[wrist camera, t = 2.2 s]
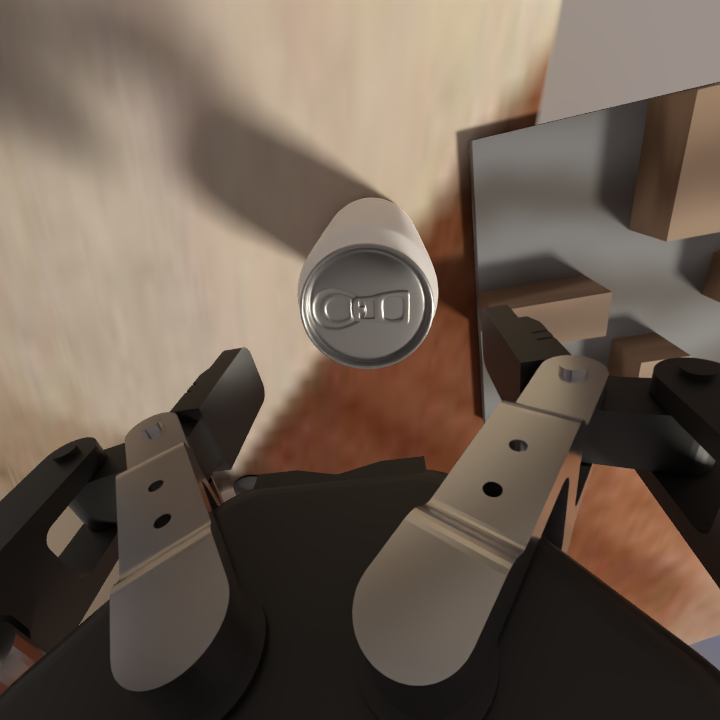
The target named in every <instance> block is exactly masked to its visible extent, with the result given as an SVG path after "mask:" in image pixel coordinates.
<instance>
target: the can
mask: <svg viewBox="0 0 720 720" xmlns="http://www.w3.org/2000/svg"><path fill="white" fill-rule="evenodd" d="M298 302H299V307H300V314H301V319H302V323H303V326H304V329H305V331H306V333H307V335H308V337H309V338H310V340H311V341H312V342H313V344H314V345H315V346H316V347H317V348H318V349H319V350H320V351H321V352H322V353H323V354H325V355H326V356H327V357H329V358H330V359H332V360H334V361H336V362H338V363H340V364H342V365H345V366H349V367H353V368H359V369H376V368H382V367H386V366H390V365H393V364H395V363H397V362H399V361H401V360H403V359H405V358H406V357H408V356H409V355H410V354H412V353H413V352H414V351H415V350H416V349H417V348H418V347H419V346H420V345H421V343H422V342H423V341H424V339H425V337H426V336H427V334H428V332H429V329H430V327H431V324H432V320H433V317H434V315H435V311H436V308H437V303H438V283H437V277H436V273H435V270H434V267H433V265H432V262H431V260H430V258H429V255H428V253H427V251H426V249H425V247H424V244H423V242H422V240H421V238H420V236H419V234H418V232H417V230H416V228H415V226H414V224H413V222H412V221H411V219H410V217H409V216H408V215H407V214H406V212H405V211H404V210H403V209H401V208H400V207H399V206H397V205H396V204H394V203H392V202H390V201H388V200H385V199H381V198H373V197H371V198H362V199H358V200H356V201H353V202H351V203H349V204H348V205H346V206H345V207H343V208H342V209H341V210H340V211H339V212H338V213H337V214H336V215H335V216H334V218H333V219H332V220H331V222H330V223H329V225H328V226H327V228H326V229H325V231H324V232H323V234H322V235H321V237H320V238H319V240H318V241H317V243H316V244H315V246H314V247H313V249H312V250H311V252H310V254H309V255H308V257H307V259H306V261H305V263H304V265H303V268H302V271H301V274H300V278H299V283H298Z"/></svg>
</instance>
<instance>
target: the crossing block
mask: <svg viewBox="0 0 720 720" xmlns="http://www.w3.org/2000/svg"><path fill="white" fill-rule="evenodd" d="M469 160H470V180H471V200H472V219H473V239H474V259H475V278H476V298H477V317H478V337H479V357H480V376H481V396H482V415H483V421H484V424H485V423H486V421H487V420H488V418H489V417H490V416H491V414H492V413H493V411H494V410H495V409H496V407H497V406H498V405H499V403H500V402H501V401H502V400H501V398H500V396H499V394H498V392H497V390H496V388H495V386H494V384H493V382H492V380H491V378H490V376H489V374H488V372H487V370H486V367H485V363H484V358H483V345H482V322H481V311H482V308H487V307H493V306H499V305H505V304H507V305H508V306H509V307H510V308H511V309H512V310H513V312H514V313H515V314H516V315H517V316H518V317H525V316H528V317H530V318H532V319H535V320H537V321H539V322H541V323H542V324H543V325H544V326H545V327H546V328H547V329H548V331H549V332H550V333H551V334H552V335H553V336H554V338H556V339H557V340H558V341H559V342H560V343H561V344H562V345H563V346H564V347H565V348H566V349H567V350H568V351H569V353H570V354H571V355H576V356H583V357H588V358H591V359H594V360H596V361H598V362H600V363H602V364H603V365H604V366H605V367H606V368H607V369H608V372H609V375H610V376H619V377H640V378H652V373H653V369H654V366H655V365H656V364H657V363H659V362H660V361H663V360H666V359H670V358H679V357H689V358H700V359H706V360H711V361H714V362H718V363H720V82H717V83H713V84H708V85H704V86H700V87H696V88H692V89H687V90H683V91H679V92H674V93H670V94H666V95H662V96H657V97H654V98H649V99H645V100H641V101H637V102H632V103H628V104H624V105H620V106H616V107H612V108H607V109H603V110H599V111H594V112H590V113H586V114H582V115H577V116H573V117H569V118H564V119H560V120H556V121H552V122H547V123H543V124H539V125H535V126H530V127H526V128H522V129H518V130H514V131H509V132H505V133H501V134H497V135H492V136H488V137H484V138H480V139H475V140H471V141H469Z"/></svg>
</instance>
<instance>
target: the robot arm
mask: <svg viewBox="0 0 720 720" xmlns="http://www.w3.org/2000/svg"><path fill="white" fill-rule="evenodd" d="M481 322H482V345H483V358H484V363H485V367H486V370H487V372H488V374H489V376H490V378H491V380H492V382H493V384H494V386H495V388H496V390H497V392H498V394H499V396H500V398H501V400H502V401H501V402H500V403H499V405H498V406H497V407H496V409H495V410H494V411H493V413H492V414H491V416H490V417H489V418H488V420H487V421H486V423H485V424H484V425H483V427H482V428H481V430H480V431H479V432H478V434H477V435H476V437H475V438H474V439H473V441H472V442H471V444H470V445H469V446H468V448H467V449H466V451H465V452H464V453H463V455H462V456H461V458H460V459H459V460H458V462H457V463H456V465H455V466H454V467H453V469H452V470H451V472H450V473H449V474H447V473H444V472H439V471H434V470H426V466H425V460H424V456H422V457H413V458H404V459H395V460H386V461H380V462H377V463H373V464H370V465H367V466H364V467H361V468H357V469H354V470H351V471H348V472H345V473H341V474H325V473H316V472H307V471H298V470H297V471H288V472H279V473H270V474H261V475H258V477H257V480H256V482H255V485H254V488H253V489H250V490H248V491H245V492H243V493H241V494H239V495H237V496H235V497H233V498H231V499H229V500H228V501H226V502H223V500H222V497H221V495H220V493H219V490H218V488H217V485H216V483H215V481H214V480H213V478H212V476H211V475H212V474H213V472H214V471H222V470H231V468H232V466H233V464H234V462H235V460H236V458H237V456H238V454H239V452H240V450H241V447H242V445H243V443H244V441H245V439H246V437H247V435H248V433H249V431H250V429H251V427H252V424H253V422H254V420H255V418H256V416H257V414H258V412H259V410H260V408H261V406H262V404H263V401H264V396H265V393H264V386H263V383H262V381H261V378H260V376H259V373H258V371H257V368H256V366H255V363H254V361H253V358H252V356H251V353H250V352H249V350H248V349H247V348H245V347H244V348H238V349H232V350H226V351H223V352H222V353H221V355H220V356H219V357H218V358H217V360H216V361H215V362H214V363H213V365H212V366H211V367H210V368H209V369H208V370H206V371H205V372H204V373H202V374H201V375H200V376H199V377H198V378H197V379H196V381H195V382H194V383H193V385H192V386H191V387H190V388H189V389H188V390H187V393H185V394H184V395H183V397H182V398H181V399H180V400H179V401H178V403H177V404H176V405H175V406H174V407H173V409H172V410H171V411H170V412H165V413H160V414H157V415H154V416H152V417H149V418H147V419H145V420H143V421H142V422H140V423H139V424H137V425H136V426H135V427H133V428H132V429H131V430H130V431H129V432H128V434H127V435H126V437H125V443H123V444H120V445H117V446H114V447H111V448H108V449H105V450H103V449H102V447H101V446H100V445H99V443H98V442H97V441H96V439H95V438H92V437H87V438H82V439H78V440H75V441H73V442H70V443H68V444H66V445H64V446H62V447H60V448H59V449H57V450H56V451H54V452H53V453H51V454H50V455H49V456H47V457H46V458H45V459H44V460H43V461H42V462H41V463H40V464H39V465H38V466H37V467H36V468H35V469H34V470H33V471H31V472H30V473H29V474H28V475H27V476H26V477H25V478H24V479H23V480H22V481H21V482H20V483H19V484H18V485H17V486H16V487H15V488H14V489H13V490H12V491H11V492H9V493H8V494H7V495H6V496H5V497H4V498H3V499H2V500H1V501H0V720H720V671H719V670H718V669H717V668H716V667H715V666H713V665H712V664H711V663H710V662H709V661H708V660H706V659H705V658H704V657H703V656H701V655H700V654H699V653H698V652H696V651H695V650H694V649H692V648H691V647H690V646H689V645H687V644H686V643H684V642H683V641H682V640H680V639H679V638H678V637H676V636H675V635H674V634H672V633H671V632H670V631H668V630H667V629H666V628H664V627H663V626H662V625H660V624H659V623H658V622H656V621H655V620H654V619H652V618H651V617H650V616H648V615H647V614H646V613H644V612H643V611H642V610H640V609H639V608H638V607H636V606H635V605H634V604H632V603H631V602H630V601H628V600H627V599H626V598H624V597H623V596H622V595H620V594H619V593H618V592H616V591H615V590H614V589H612V588H611V587H610V586H608V585H607V584H606V583H604V582H603V581H602V580H600V579H599V578H598V577H596V576H595V575H594V574H592V573H591V572H590V571H588V570H587V569H586V568H584V567H583V566H582V565H580V564H579V563H578V562H576V561H575V560H574V559H572V558H571V557H570V556H568V555H567V551H568V547H569V543H570V539H571V535H572V530H573V526H574V523H575V519H576V516H577V514H578V511H579V508H580V505H581V503H582V500H583V497H584V494H585V491H586V489H587V486H588V483H589V480H590V478H591V475H592V472H593V469H594V466H595V464H600V465H608V466H616V467H623V468H631V469H635V470H636V472H637V473H638V475H639V476H640V478H641V479H642V480H643V482H644V483H645V485H646V486H647V487H648V489H649V490H650V492H651V493H652V494H653V496H654V497H655V499H656V500H657V501H658V503H659V504H660V506H661V507H662V508H663V510H664V511H665V513H666V514H667V515H668V517H669V518H670V520H671V521H672V522H673V524H674V525H675V527H676V528H677V530H678V531H679V532H680V534H681V535H682V537H683V538H684V539H685V541H686V542H687V544H688V545H689V546H690V548H691V549H692V551H693V552H694V553H695V555H696V556H697V558H698V559H699V560H700V562H701V563H702V565H703V566H704V567H705V569H706V570H707V572H708V573H709V574H710V576H711V577H712V579H713V580H714V581H715V583H716V584H717V586H718V587H719V588H720V363H718V362H714V361H711V360H706V359H700V358H689V357H679V358H670V359H666V360H663V361H660V362H659V363H657V364H656V365H655V366H654V369H653V373H652V378H640V377H619V376H610V375H609V372H608V369H607V368H606V367H605V366H604V365H603V364H602V363H600V362H598V361H596V360H594V359H591V358H588V357H583V356H576V355H571V354H570V353H569V351H568V350H567V349H566V348H565V347H564V346H563V345H562V344H561V343H560V342H559V341H558V340H557V339H556V338H554V336H553V335H552V334H551V333H550V332H549V331H548V329H547V328H546V327H545V326H544V325H543V324H542V323H541V322H539V321H537V320H535V319H532V318H530V317H528V316H525V317H518V316H517V315H516V314H515V313H514V312H513V310H512V309H511V308H510V307H509V306H508V305H507V304H505V305H499V306H493V307H487V308H482V311H481ZM67 506H69V507H70V508H71V509H72V510H73V511H74V513H75V514H76V515H77V516H78V517H79V518H80V519H81V520H82V522H84V524H83V525H82V527H81V528H80V529H79V531H78V532H77V533H76V535H75V536H74V537H73V539H72V540H71V541H70V543H69V544H68V545H67V547H66V548H65V549H64V551H63V552H62V553H61V555H60V556H59V557H57V556H56V555H55V554H54V553H53V552H52V551H51V550H50V549H49V548H48V546H47V541H46V539H47V533H48V531H49V528H50V527H51V526H52V524H53V523H54V522H55V521H56V520H57V518H58V517H59V516H60V515H61V514H62V512H63V511H64V510H65V509H66V508H67ZM118 559H119V581H118V582H117V583H116V584H115V585H113V587H112V589H111V592H110V599H109V600H108V601H107V602H106V603H105V604H104V605H102V606H101V607H100V608H99V609H98V610H96V611H95V612H94V613H93V614H92V615H91V616H89V617H88V618H87V619H86V620H85V621H84V622H83V623H81V624H80V622H81V621H82V619H83V617H84V615H85V614H86V612H87V611H88V609H89V607H90V606H91V604H92V602H93V601H94V599H95V597H96V596H97V594H98V592H99V590H100V589H101V587H102V585H103V583H104V582H105V580H106V579H107V577H108V575H109V574H110V572H111V570H112V569H113V567H114V565H115V564H116V562H117V560H118ZM79 624H80V625H79Z"/></svg>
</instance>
